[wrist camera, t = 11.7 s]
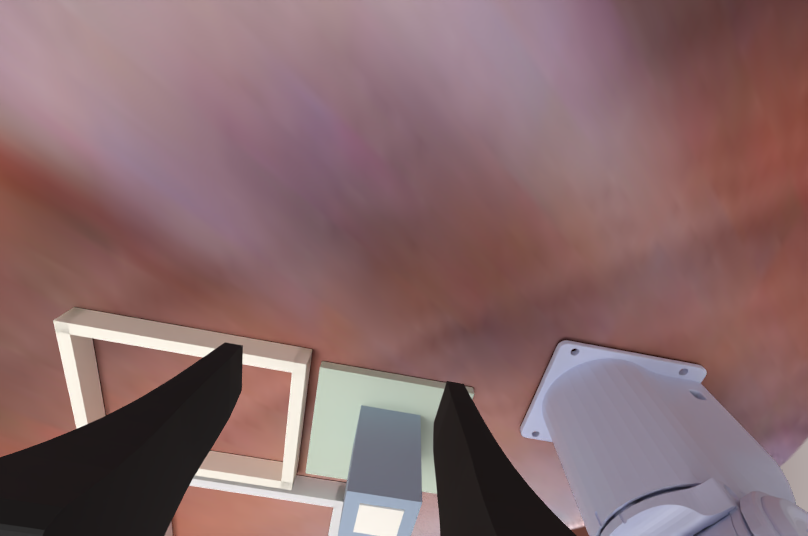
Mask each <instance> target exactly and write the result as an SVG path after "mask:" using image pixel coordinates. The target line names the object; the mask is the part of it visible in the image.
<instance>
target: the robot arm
mask: <svg viewBox="0 0 808 536" xmlns="http://www.w3.org/2000/svg"><path fill="white" fill-rule="evenodd" d="M576 348H577V349H576ZM572 349H576V350H575V351H571V350H572ZM242 359H243V345H237V344H232V343H226V342H225V343H223V344H222V345H220V346H219V347H217V348H216V349H214V350H213V351H212V352H210V353H209V354H207V355H206V356H205V357H203V358H202V359H200V360H199V361H197V362H196V363H194V364H193V365H192V366H190V367H189V368H187V369H186V370H184V371H183V372H181V373H180V374H178V375H177V376H175V377H174V378H172V379H171V380H169V381H167V382H166V383H164V384H163V385H161V386H159V387H158V388H156V389H154V390H153V391H151V392H149V393H148V394H146V395H144V396H143V397H141V398H139V399H137V400H136V401H134V402H132V403H130V404H128V405H126V406H124V407H122V408H120V409H118V410H116V411H115V412H113V413H111V414H108V415H106V416H104V417H102V418H100V419H98V420H95V421H93V422H91V423H89V424H86V425H84V426H82V427H80V428H77V429H75V430H73V431H71V432H68V433H66V434H63V435H61V436H58V437H56V438H53V439H51V440H48V441H46V442H43V443H40V444H38V445H35V446H32V447H29V448H27V449H24V450H21V451H18V452H15V453H12V454H9V455H6V456H3V457H0V536H165V533H166V531H167V529H168V527H169V525H170V523H171V521H172V519H173V517H174V515H175V512H176V510H177V508H178V506H179V504H180V502H181V500H182V498H183V496H184V494H185V492H186V490H187V488H188V487H189V485H190V483H191V481H192V479H193V478H194V476H195V474H196V473H197V471H198V469H199V468H200V466H201V464H202V463H203V461H204V459H205V458H206V456H207V454H208V453H209V451H210V450H211V448H212V446H213V445H214V443H215V441H216V440H217V438H218V436H219V435H220V433H221V431H222V430H223V428H224V426H225V425H226V423H227V421H228V419H229V418H230V415H231V413H232V411H233V409H234V407H235V405H236V402H237V400H238V398H239V395H240V393H241V391H242ZM681 369H683V370H681ZM680 370H681V371H680ZM706 374H707V371H706V370H705V369H704V368H703V367H702V366H701V365H698V364H692V363H687V362H681V361H676V360H671V359H665V358H660V357H655V356H649V355H644V354H638V353H633V352H628V351H622V350H617V349H611V348H606V347H601V346H595V345H590V344H585V343H579V342H574V341H568V340H564V341H561V342H560V343H559V344H558V345H557V347H556V349H555V352H554V354H553V356H552V358H551V360H550V363H549V365H548V367H547V369H546V372H545V374H544V376H543V378H542V380H541V383H540V385H539V387H538V389H537V392H536V394H535V396H534V398H533V400H532V403H531V405H530V407H529V409H528V411H527V414H526V416H525V418H524V420H523V423H522V425H521V427H520V432H521V435H522V436H523V437H526V438H532V439H538V440H544V441H550V442H553V444H554V447H555V449H556V452H557V454H558V457H559V459H560V462H561V465H562V467H563V470H564V472H565V475H566V477H567V480H568V483H569V485H570V488H571V490H572V493H573V495H574V498H575V501H576V503H577V506H578V508H579V511H580V513H581V516H582V519H583V521H584V524H585V526H586V528H587V531H588V534H589V536H808V512H806V511H805V510H803V509H802V508H800V507H799V506H797V505H796V502H795V498H794V495H793V492H792V490H791V487H790V485H789V483H788V480H787V479H786V477H785V475H784V473H783V471H782V470H781V468H780V467H779V465H778V464H777V463H776V462H775V460H774V459H773V458H772V457H771V456H770V455H769V454H768V453H767V451H766V450H765V449H764V448H763V447H762V446H761V445H760V444H759V443H758V442H757V441H756V440H755V439H754V438H753V437H752V436H751V435H750V434H749V433H748V432H747V431H746V430H745V429H744V428H743V427H742V426H741V425H740V423H739V422H738V421H737V420H736V419H735V418H734V417H733V416H732V415H731V414H730V413H729V412H728V411H727V410H726V409H725V408H724V407H723V406H722V405H721V404H720V403H719V402H718V401H717V400H716V399H715V398H714V397H713V396H712V394H711V393H710V392H709V391H708V390H707V389H706V388H705V387H704V386H703V385H702V384H701V382H702V381H703V379H704V378H705V376H706ZM535 431H536V432H535ZM433 456H434V467H435V477H436V487H437V497H438V507H439V517H440V536H576V535H575V534H574V533H573V532H572V531H571V530H570V529H569V528H568V527H567V526H566V525H565V524H564V523H563V522H562V521H561V520H560V519H559V518H558V517H557V516H556V515H555V514H554V513H553V512H552V511H551V510H550V509H549V508H548V507H547V506H546V505H545V503H544V502H543V501H542V500H541V499H540V498H539V497H538V496H537V495H536V494H535V492H534V491H533V490H532V489H531V488H530V487H529V485H528V484H527V483H526V482H525V480H524V479H523V478H522V477H521V475H520V474H519V473H518V472H517V470H516V469H515V468H514V466H513V465H512V464H511V462H510V461H509V459H508V458H507V457H506V455H505V454H504V452H503V451H502V449H501V448H500V446H499V445H498V443H497V442H496V440H495V439H494V437H493V435H492V434H491V432H490V430H489V429H488V427H487V425H486V424H485V422H484V420H483V419H482V417H481V415H480V413H479V411H478V410H477V408H476V406H475V404H474V402H473V400H472V398H471V397H470V395H469V393H468V391H467V389H466V387H465V386H464V384H460V383H454V382H448V381H447V382H446V386H445V389H444V392H443V395H442V398H441V401H440V404H439V408H438V411H437V414H436V417H435V420H434V426H433Z"/></svg>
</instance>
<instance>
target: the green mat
mask: <svg viewBox="0 0 808 536" xmlns="http://www.w3.org/2000/svg"><path fill="white" fill-rule="evenodd" d="M445 386H446V383H444V382H439V381H433V380H427V379H421V378H416V377H410V376H404V375H399V374H393V373H387V372H381V371H376V370H370V369H364V368H359V367H353V366H347V365H341V364H336V363H330V362H324V361H322V363H321V366H320V371H319V378H318V385H317V393H316V400H315V407H314V415H313V422H312V429H311V437H310V444H309V451H308V458H307V466H306V473H307V474H314V475H320V476H327V477H333V478H339V479H346V480H347V478H348V472H349V466H350V460H351V454H352V448H353V443H354V438H355V433H356V429H357V424H358V419H359V414H360V409H361V405H363V406H369V407H375V408H380V409H386V410H392V411H398V412H404V413H410V414H416V415H420V416H421V469H422V492H429V493H435V494H437V487H436V477H435V467H434V456H433V426H434V420H435V417H436V414H437V411H438V408H439V404H440V401H441V398H442V395H443V392H444V389H445ZM465 387H466V389H467V391H468V393H469V395H470V397H471V398H472V399H473V396H474V390H473V387H467V386H465Z"/></svg>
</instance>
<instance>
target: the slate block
mask: <svg viewBox="0 0 808 536" xmlns="http://www.w3.org/2000/svg"><path fill="white" fill-rule="evenodd" d="M421 504H422V469H421V416H420V415H416V414H410V413H404V412H398V411H392V410H386V409H380V408H375V407H369V406H363V405H361V409H360V414H359V419H358V424H357V429H356V433H355V438H354V443H353V448H352V454H351V460H350V466H349V472H348V478H347V484H346V489H345V495H344V501H343V507H342V513H341V519H340V525H339V530H338V536H411V534H412V531H413V528H414V525H415V522H416V519H417V516H418V513H419V510H420V507H421Z"/></svg>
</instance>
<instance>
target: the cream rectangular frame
mask: <svg viewBox="0 0 808 536" xmlns="http://www.w3.org/2000/svg"><path fill="white" fill-rule="evenodd" d="M53 322H54V327H55V331H56V336H57V340H58V345H59V350H60V354H61V359H62V363H63V368H64V373H65V377H66V382H67V386H68V391H69V396H70V400H71V405H72V409H73V414H74V419H75V423H76V428H80V427H82V426H84V425H86V424H89V423H91V422H93V421H95V420H98V419H100V418H102V417H104V416H106V415H105V409H104V404H103V398H102V392H101V386H100V380H99V374H98V368H97V363H96V357H95V351H94V345H93V339H92V338H94V339H100V340H106V341H111V342H117V343H123V344H129V345H135V346H140V347H146V348H152V349H158V350H164V351H169V352H175V353H181V354H187V355H193V356H198V357H205V356H206V355H207V354H209V353H210V352H212V351H213V350H214V349H216V348H217V347H219V346H220V345H222V344H223V343H225V342H226V343H232V344H237V345H243V359H242V364H245V365H251V366H256V367H262V368H268V369H274V370H280V371H285V372H291V373H292V378H291V388H290V399H289V409H288V419H287V429H286V439H285V449H284V459H283V462H279V461H273V460H266V459H260V458H254V457H247V456H241V455H235V454H228V453H222V452H216V451H209V453H208V454H207V456H206V458H205V459H204V461H203V463H202V464H201V466H200V468H199V469H198V471H197V473H196V474H195V476H202V477H208V478H215V479H221V480H228V481H234V482H241V483H247V484H254V485H261V486H267V487H274V488H280V489H287V490H292V488H293V484H294V481H295V478H296V474H297V470H298V462H299V454H300V446H301V438H302V430H303V422H304V413H305V405H306V397H307V389H308V381H309V373H310V365H311V357H312V349H308V348H303V347H297V346H291V345H286V344H280V343H274V342H269V341H263V340H257V339H252V338H246V337H240V336H235V335H229V334H223V333H218V332H212V331H206V330H201V329H195V328H189V327H184V326H178V325H173V324H167V323H161V322H156V321H150V320H144V319H139V318H133V317H127V316H122V315H116V314H110V313H105V312H99V311H93V310H88V309H82V308H76V307H73V308H72V309H70V310H69V311H67V312H66V313H64V314H62V315H61V316H59V317H58V318H56V319H55V320H53Z"/></svg>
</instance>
